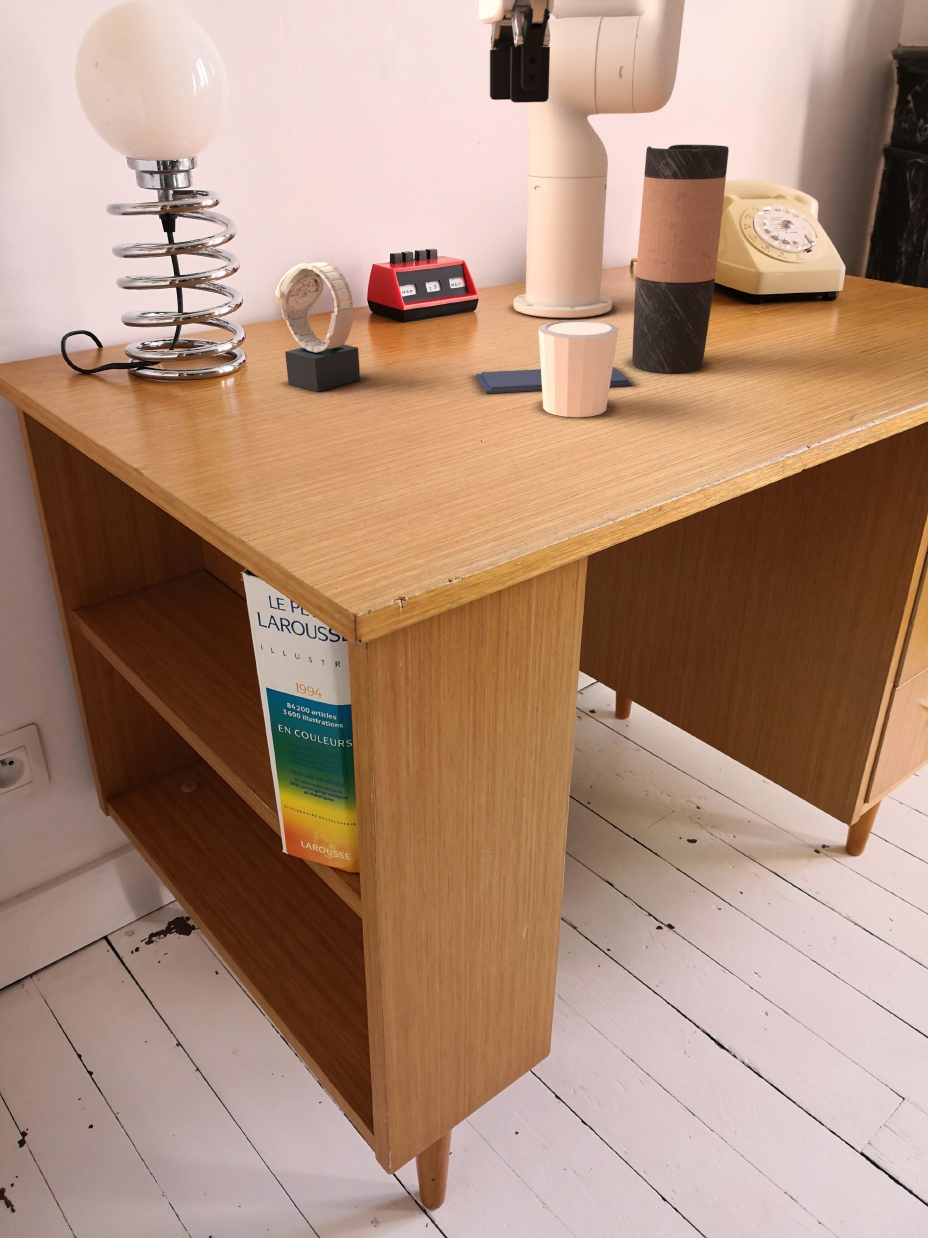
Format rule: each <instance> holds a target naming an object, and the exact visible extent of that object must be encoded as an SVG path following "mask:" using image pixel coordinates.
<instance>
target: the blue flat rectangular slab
mask: <svg viewBox="0 0 928 1238" xmlns="http://www.w3.org/2000/svg"><path fill="white" fill-rule="evenodd" d="M475 377H476V379H477V380H478V382H479V384H480V385H481V387H482V389H483V390H484V392H485V394H500V393H503V394H504V393H518V392H537V391H538V392H540V391H542V377H541V368H539V369H538V368H536V369H535V368H534V369H518V370H516V369H515V370H496V371H482V372H481V373H476V374H475ZM631 385H632V383H631V382H630V381H629V379H628V378H627V377H625V376H624V375H623V374H621V373H620V371H618V369H616V368H615V367H614V366H613V369H612V375H611V381H610V388H614V387H615V388H617V387H631Z"/></svg>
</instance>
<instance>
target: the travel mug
mask: <svg viewBox="0 0 928 1238" xmlns="http://www.w3.org/2000/svg"><path fill="white" fill-rule="evenodd" d="M645 152H646V153H645V161H644V162H645V164H644V173H643V174H644V176H643V188H642V196H641V197H642V198H641V199H642V200H641V211H640V223H639V234H638V244H637V245H638V246H637V256H636V257H637V258H636V270H635V271H636V272H635V276H636V277H635V286H634V305H633V306H634V309H633V329H632V330H633V332H632V352H631V353H632V354H631V356H632V357H631V358H632V359H631V361H632V365H633V366H634V367H636V368H637V369H640V370H643V371H646V372H653V373H661V374H683V373H691V372H695V371H697V370H699V369H701V368H702V366H703V364H704V357H705V350H706V344H707V339H708V338H707V337H708V332H709V331H708V330H709V324H710V317H711V311H712V304H713V303H712V302H713V296H714V289H715V282H716V274H717V266H718V256H719V249H720V248H719V247H720V237H721V229H722V228H721V227H722V219H723V218H722V217H723V209H724V199H725V190H726V182H727V181H726V180H727V169H728V160H729V152H730V147H729V146H727V145H717V144H672V145H670V146H669V147H668V148H659V147H652V146H647V147H646V151H645Z"/></svg>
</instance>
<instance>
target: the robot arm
mask: <svg viewBox="0 0 928 1238" xmlns="http://www.w3.org/2000/svg"><path fill="white" fill-rule="evenodd" d="M685 5H686V0H478V18H479V20H480V21H481V22H482V24H484V25H491V34H490V49H489V97H490V99H491V100H493V101H503V100H504V101H505V100H507V101H508V100H509V101H511V102H512V103H515V104H517V103H525V106H526V118H527V137H528V139H527V140H528V142H527V144H528V145H527V146H528V147H527V148H528V150H527V152H528V153H527V155H528V157H527V158H528V160H527V201H526V202H527V205H526V206H527V208H526V210H527V211H526V249H525V250H526V255H525V256H526V259H525V261H526V262H525V264H526V265H525V293H523V294H520V295H517V296H515V297H514V298H513V302H512V303H513V304H512V305H513V309H514V311H516V312H518V313H521V314H523V315H528V316H534V317H540V318H556V319H558V318H559V319H572V318H587V317H595V316H599V315H603V314H607V313H609V312H610V311H611V310H612V308H613V299H612V297H610V296H607V295H605V294H602V291H601V290H602V275H603V258H604V257H603V255H604V238H605V222H606V203H607V187H608V186H607V185H608V171H609V170H608V169H609V158H608V153H607V149H606V146H605V144H604V143H603V141H602V139H601V137H600V136H599V134H598V133H597V131H596V130H595V129H594V127H593V126H592V124H591V123H590V121H589V119H588V117H589V116H595V115H602V114H603V115H604V114H609V115H610V114H611V115H613V114H615V115H616V114H619V115H620V114H624V115H625V114H627V115H628V114H649V113H654V112H657V111H660V110H661V109H663V108H664V107H665V106H666V105H667V104H668V102H669V101H670V99H671V96H672V95H673V91H674V88H675V84H676V79H677V72H678V66H679V58H680V57H679V56H680V48H681V39H682V29H683V21H684V12H685ZM551 15H552V16H553V17H554V18H555V19H550V18H551Z"/></svg>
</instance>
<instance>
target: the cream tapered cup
mask: <svg viewBox="0 0 928 1238" xmlns="http://www.w3.org/2000/svg"><path fill="white" fill-rule="evenodd" d="M618 337H619V327H617V326H615V325H614V324H611V323H606V322H602V321H593V320H574V319H573V320H558V321H553V322H547V323H545V324H543V325H540V326H539V328H538V340H539V359H540V369H541V377H542V393H541V394H542V408H543V410H544V411H546V412H547V413H549V414H551V415H554V416H559V417H566V418H587V417H595V416H598V415H602V414H603V413H604V412H606V411H607V406H608V400H609V394H610V388H611V387H610V381H611V375H612V369H613V367H614V363H615V362H614V361H615V356H616V350H617V342H618Z"/></svg>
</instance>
